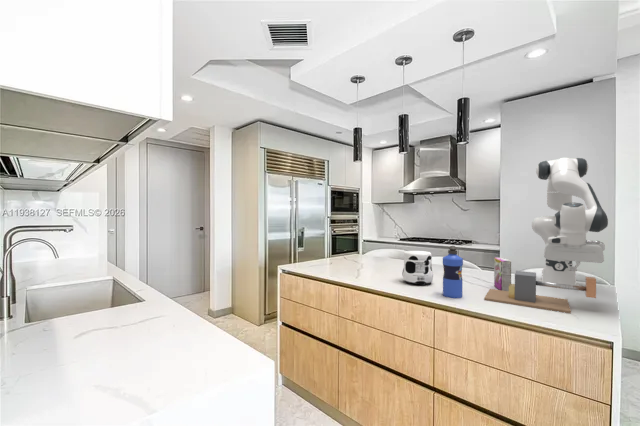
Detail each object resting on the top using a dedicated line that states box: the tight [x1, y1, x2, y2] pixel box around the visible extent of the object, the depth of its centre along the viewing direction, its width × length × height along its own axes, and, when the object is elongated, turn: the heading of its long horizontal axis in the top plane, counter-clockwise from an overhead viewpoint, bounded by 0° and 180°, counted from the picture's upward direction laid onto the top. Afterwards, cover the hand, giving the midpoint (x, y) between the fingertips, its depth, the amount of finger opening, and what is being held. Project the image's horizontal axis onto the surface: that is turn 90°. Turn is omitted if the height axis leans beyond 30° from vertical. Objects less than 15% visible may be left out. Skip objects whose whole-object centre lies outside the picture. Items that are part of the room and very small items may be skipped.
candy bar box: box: [493, 256, 512, 291], centre depth 164 cm, size 11×5×16 cm, turn 168°
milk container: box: [401, 250, 434, 285], centre depth 179 cm, size 17×17×18 cm
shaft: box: [536, 276, 597, 299], centre depth 136 cm, size 4×24×8 cm, turn 54°
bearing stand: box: [483, 270, 572, 314], centre depth 144 cm, size 20×32×13 cm, turn 54°
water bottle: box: [442, 245, 464, 299], centre depth 152 cm, size 9×9×25 cm
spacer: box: [509, 283, 515, 299], centre depth 147 cm, size 6×2×6 cm, turn 144°
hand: (572, 270), depth 134 cm, fingers closed
